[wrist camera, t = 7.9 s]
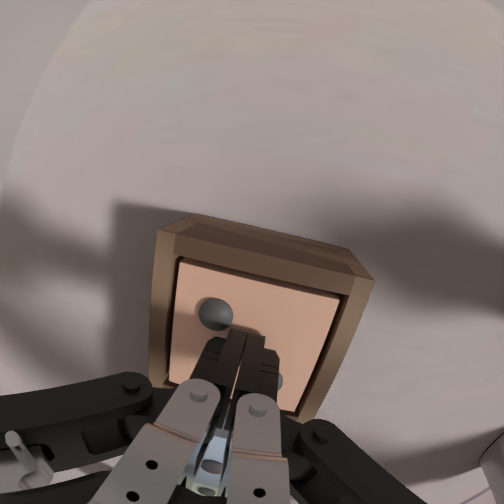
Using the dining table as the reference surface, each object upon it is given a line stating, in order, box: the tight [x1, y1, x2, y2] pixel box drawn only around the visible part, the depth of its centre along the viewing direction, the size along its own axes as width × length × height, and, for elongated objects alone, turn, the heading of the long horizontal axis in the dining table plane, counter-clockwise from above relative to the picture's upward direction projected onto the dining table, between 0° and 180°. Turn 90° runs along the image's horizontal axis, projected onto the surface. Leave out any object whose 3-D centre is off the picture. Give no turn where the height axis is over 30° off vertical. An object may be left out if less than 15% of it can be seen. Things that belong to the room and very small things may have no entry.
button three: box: [194, 413, 229, 488], centre depth 13 cm, size 6×6×3 cm
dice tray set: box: [149, 214, 374, 424], centre depth 16 cm, size 24×9×5 cm, turn 168°
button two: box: [169, 257, 340, 412], centre depth 13 cm, size 6×6×3 cm
